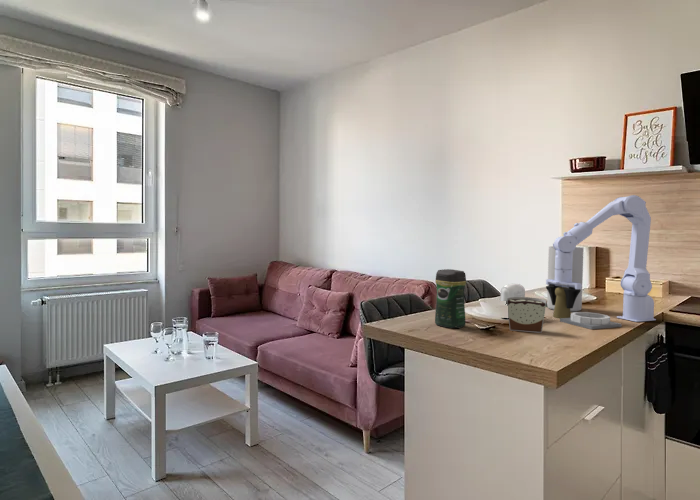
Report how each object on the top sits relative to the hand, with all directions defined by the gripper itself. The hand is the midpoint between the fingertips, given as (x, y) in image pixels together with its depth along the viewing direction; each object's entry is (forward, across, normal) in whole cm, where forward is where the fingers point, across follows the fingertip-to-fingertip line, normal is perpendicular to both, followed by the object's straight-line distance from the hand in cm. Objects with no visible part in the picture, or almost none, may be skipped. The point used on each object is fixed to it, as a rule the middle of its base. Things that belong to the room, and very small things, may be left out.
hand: (562, 306), depth 160 cm
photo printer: (+4, -5, -18) cm, 19 cm away
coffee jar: (+4, 0, -47) cm, 47 cm away
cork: (+4, 0, 0) cm, 4 cm away
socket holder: (+4, +12, 0) cm, 13 cm away
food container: (+4, +12, -27) cm, 30 cm away
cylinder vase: (+4, -13, +14) cm, 20 cm away
